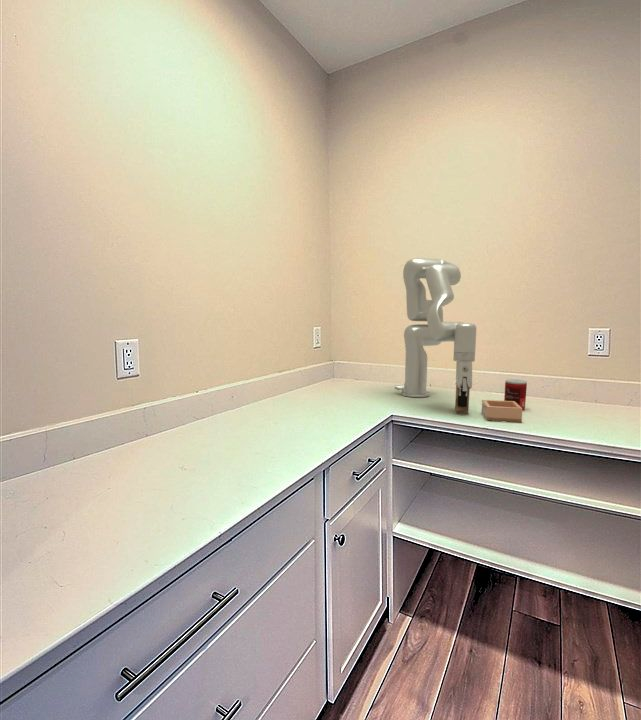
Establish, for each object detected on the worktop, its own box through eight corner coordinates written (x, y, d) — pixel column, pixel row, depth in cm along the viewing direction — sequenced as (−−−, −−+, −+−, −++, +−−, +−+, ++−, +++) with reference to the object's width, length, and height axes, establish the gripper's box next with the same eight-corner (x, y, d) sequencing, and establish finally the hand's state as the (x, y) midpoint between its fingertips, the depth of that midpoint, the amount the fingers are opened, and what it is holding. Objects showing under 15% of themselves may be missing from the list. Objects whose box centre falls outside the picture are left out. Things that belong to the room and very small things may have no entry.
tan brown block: (455, 413, 158) (457, 381, 156) (454, 411, 161) (456, 380, 159) (468, 413, 157) (469, 382, 155) (467, 411, 160) (469, 380, 158)
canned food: (520, 406, 170) (522, 379, 168) (528, 411, 162) (530, 382, 160) (500, 405, 170) (502, 378, 169) (507, 410, 162) (509, 382, 161)
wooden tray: (486, 420, 148) (487, 406, 147) (481, 412, 159) (482, 399, 158) (521, 422, 145) (522, 408, 145) (514, 414, 157) (514, 401, 156)
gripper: (478, 360, 148) (475, 411, 150) (471, 354, 163) (469, 401, 166) (455, 359, 149) (453, 410, 152) (451, 354, 165) (449, 400, 167)
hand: (461, 404), depth 159 cm, fingers closed on tan brown block, 2 cm apart
